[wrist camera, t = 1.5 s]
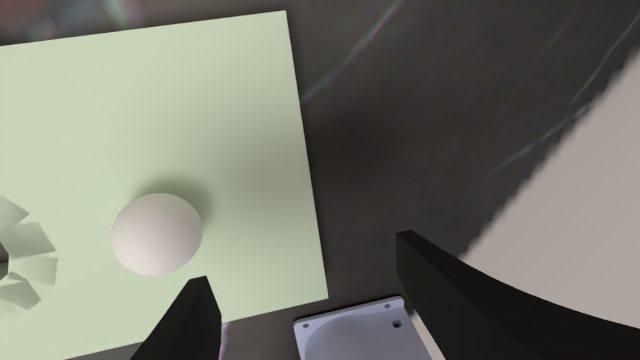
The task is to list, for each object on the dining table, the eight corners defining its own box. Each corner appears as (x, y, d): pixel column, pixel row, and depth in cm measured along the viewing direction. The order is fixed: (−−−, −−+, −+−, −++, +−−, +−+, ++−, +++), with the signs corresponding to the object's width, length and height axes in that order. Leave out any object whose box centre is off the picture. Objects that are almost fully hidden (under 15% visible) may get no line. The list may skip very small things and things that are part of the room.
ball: (195, 173, 16) (178, 211, 13) (215, 235, 18) (205, 283, 15) (117, 187, 16) (76, 231, 12) (145, 249, 18) (116, 303, 14)
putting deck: (281, 13, 16) (285, 10, 14) (321, 274, 24) (328, 298, 22) (-258, 82, 14) (-359, 91, 11) (-15, 348, 21) (-47, 385, 19)
